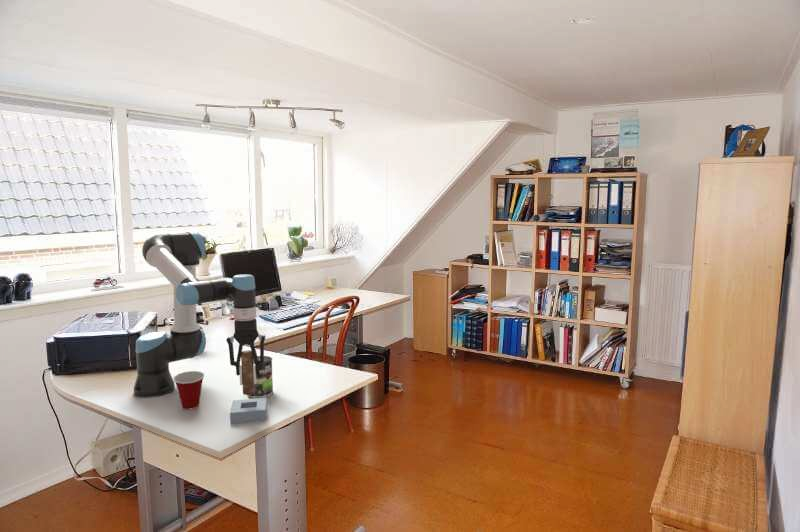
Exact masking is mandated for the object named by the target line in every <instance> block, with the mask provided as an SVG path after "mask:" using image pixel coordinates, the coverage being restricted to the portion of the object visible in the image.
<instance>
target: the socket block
mask: <svg viewBox="0 0 800 532" xmlns="http://www.w3.org/2000/svg"><path fill="white" fill-rule="evenodd" d="M267 400H268V399H267V397H263V398H245V399H234V400H232V403H231V407H230V410H229V419H230V420H229V421H230V422H229V423H230V425H235V424H243V423H244V424H245V423H256V422H255V421H258V422H266V421H267V415H268V414H267V412H268V411H267V410H268V405H267V404H268V402H267ZM266 414H267V415H266ZM265 420H266V421H265Z"/></svg>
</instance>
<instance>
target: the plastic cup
mask: <svg viewBox="0 0 800 532" xmlns="http://www.w3.org/2000/svg"><path fill="white" fill-rule="evenodd" d="M204 377H205V374H204V372H201V371H196V370H191V371H184V372H181V373H178V374H176V375H174V376H173V377H172V378H173V381H174V384H175V386H176V388H177V392H178V396H179V399H180V404H181V406H182V408H183V409H184V410H192V409H193V410H194V409H195V408H198V407H199V404H200V399H201V394H202V393H201V392H202V385H203V379H204Z"/></svg>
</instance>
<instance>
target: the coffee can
mask: <svg viewBox="0 0 800 532" xmlns="http://www.w3.org/2000/svg"><path fill="white" fill-rule="evenodd" d="M257 357H258V360H260V355H257ZM253 364H255V362H254V358H253ZM273 384H274V383H273V358H272V357H271V356H267V355H264V362H263V363H261V364H259V374H256V384H254V391H255V393H253V394H251V395H246V396H247V397H249V398H250V399H254V398H267V397H270V396H271V395H273V394H274V389H273V386H274V385H273Z"/></svg>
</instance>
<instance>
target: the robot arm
mask: <svg viewBox="0 0 800 532" xmlns="http://www.w3.org/2000/svg"><path fill="white" fill-rule="evenodd" d="M141 252H142V256H143V260H144V261H145V262H146V263H147V264H148V265H149V266H151V267H154V268H156V270H158V271H159V273H160V274H162V276H163V277H164V278H165V279H167V280H166V281H168V282H169V283H170V284H171V285H172V286H173V325H172V326H171V327H170V328H169V329H170V330H169V331H170V333H167V332H166V331H162V330H161V331H154V332H149V333H146V334H143V335H141V336H139V337H138V338H137V339H136V341H135V350H134V351H135V355H136V356H135V357H136V370H137V371H136V372H137V373H136V375H137V376H136V377H135V378H136V379H135V382H134V384H133V385H134V386H133V395H134V396H136V397H139V398H155V397H159V396H163V395H167V394H170V393H171V392H173V391H174V390H175V389H176V388H175V387H176V384H175V381H174V379H173V378H174V377H172V373H171V372H170V368H169V366H170V365H169V364H170V363H174V362H178V361H183V360H187V359H193V358H195V357H199V356H202V354H203V353H204V352H205V349H206V344H207V338H206V333H205V331H204V329H203V328H202V329H203V330H202V329H200V327H201V325H199V324H198V323H197V305H199V304H205V303H212V302H219V301H227V300H230V301H232V302H233V303H232V304H233V318H234V323H233V324H234V333H233V335H231V336H227V337H226V342H227V345H228V351H229V353H228V354H229V363H230V366H234V367H235V373H236V374H235V375H236V376H239V386H243V383H242V364H241V353H242V351H243V346H249V347H250V350H251V351H252V355H253V358H254V362H255V364H253V377H254V384H256V374H259V364H261V363H263V362H264V356H265V340H266V334H261V333H259V332H258V326H257V324H258V323H257V321H258V320H257V304H256V303H257V302H256V301H257V295H256V281H255V276H254V275H252V274H249V273H248V274H247V273H246V274H241V273H240V274H236V275H233V276H232V278H231V277H228V276H227V277H225V276H224V277H220V278H218V279H212V280H210V279H209V280H203V281H202V280H201V281H200V280H199V278H197V274H196V273H197V272H196V269H197V267H198V266H199V265H201V264H200V263H201V262H200V260H201V259H203V258H204V257H205V255H206V245H205V241H204V239H203V237H202V235H201V234H200V233H199V232H198V231H195V230H177V231H174V230H173V231H159V232H155V233H154V234H151V235H150V236H148V238H147V239H146V240H145V242H143V245H142V251H141ZM234 339H235V340H234ZM257 339H258V341H259V342H260V343H259V347H260V348H259V356H260V360H258V357H257V356H258V354H257V350H256V346H255V341H256V340H257ZM234 341H236V342H237V343H238V351H237V356H236V360H235V354H234V353H235V352H234Z"/></svg>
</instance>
